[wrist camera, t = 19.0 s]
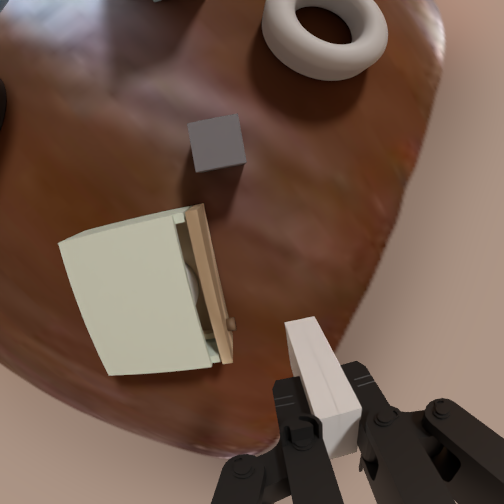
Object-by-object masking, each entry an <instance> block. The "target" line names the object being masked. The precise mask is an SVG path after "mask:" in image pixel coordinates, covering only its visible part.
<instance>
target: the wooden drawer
mask: <svg viewBox="0 0 504 504" xmlns="http://www.w3.org/2000/svg"><path fill="white" fill-rule="evenodd" d="M185 216H186V221H185V222H183V223H178V224H175V225H176V229H177V233H178V238H179V242H180V246H181V251H182V255H183V259H184V262H186V263H187V264H188V265H189V266H190V267H191V268H192V269H193V271H194V272H195V274H196V276H197V278H198V281H199V296H198V300H197V303H196V309H197V313H198V317H199V320H200V324H201V327H202V331H203V334H204V337H205V340H206V339H213V338H215V339H216V342H217V346H218V350H219V353H220V357H221V360H222V363H223V364H227V363H233V334H232V331H234V330H236V322H235V318H234V317H232V318H228V313H227V309H226V305H225V300H224V296H223V292H222V287H221V283H220V278H219V274H218V269H217V265H216V260H215V256H214V251H213V246H212V242H211V237H210V232H209V227H208V222H207V217H206V213H205V208H204V203H202V204H197V205H193V206H192V207H191V208H190V209H188V210H187V211H186V212H185Z"/></svg>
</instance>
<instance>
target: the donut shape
mask: <svg viewBox="0 0 504 504" xmlns="http://www.w3.org/2000/svg"><path fill="white" fill-rule="evenodd" d="M309 6H314V7H321V8H324V9H327V10H330V11H332V12H333V13H335V14H337V15H338V16H339V17H341V18H342V19H343V20H344V21H345V23H346V24H347V25H348V27H349V29H350V31H351V35H352V43H350V44H343V45H341V44H332V43H329V42H326V41H323V40H321V39H319V38H317V37H315V36H313V35H312V34H310V33H309V32H308V31H307V30H305V29H304V28H303V26H302V25H301V24H300V23H299V21H298V19H297V17H296V14H295V11H296V10H298V9H300V8H303V7H309ZM262 32H263V36H264V39H265V41H266V43H267V45H268V47H269V48H270V50H271V51H272V52H273V54H274V55H275V56H276V57H277V58H278V59H279V60H280V61H281V62H282V63H284V64H285V65H286V66H288V67H289V68H291V69H292V70H294V71H296V72H298V73H300V74H302V75H305V76H307V77H310V78H314V79H319V80H326V81H338V80H344V79H348V78H351V77H354V76H356V75H358V74H359V73H361V72H362V71H364V70H365V69H367V68H368V67H369V66H371V65H372V64H374V63H375V62H376V61H377V60H378V59H379V58H380V57H381V56H382V54H383V52H384V50H385V48H386V45H387V41H388V30H387V24H386V21H385V18H384V16H383V14H382V12H381V10H380V9H379V7H378V6H377V4H376V3H375V2H374V1H373V0H266V3H265V7H264V12H263V17H262Z"/></svg>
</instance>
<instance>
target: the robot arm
mask: <svg viewBox="0 0 504 504" xmlns="http://www.w3.org/2000/svg"><path fill="white" fill-rule="evenodd" d="M8 1H9V0H0V12H1V11H2V10H3V8H4V7H5V5H6V4H7V2H8ZM5 109H6V90H5V86H4V83H3V82H2V80H1V79H0V129H1V126H2V123H3V119H4V115H5ZM285 328H286V335H287V342H288V349H289V356H290V364H291V368H292V371H293V375H294V377H291V378H286V379H281V380H276V382H275V384H274V387H273V389H272V390H273V396H274V401H275V407H276V412H277V418H278V424H279V429H280V440H279V442H278V444H277V446H276V447H274V448H273V449H272V450H271V451H269V452H267V453H265V454H263V455H260V456H258V457H256V456H253V455H249V454H243V455H237V456H235V457H232V458H231V459H229V460H228V461H227V462H226V463H225V465H224V467H223V468H222V471H221V475H220V478H219V481H218V484H217V487H216V490H215V493H214V496H213V499H212V502H211V504H274V502H277V501H279V500H281V499H283V498H285V497H288V496H290V495H292V500H293V504H344V503H343V499H342V496H341V493H340V490H339V487H338V484H337V480H336V477H335V475H334V471H333V468H332V465H331V462H330V459H333V458H337V457H341V456H344V455H348V454H351V453H354V452H357V446H358V447H359V449H360V451H361V458H360V464H359V472H361V471H362V469H363V468H364V471H365V474H366V476H367V479H368V481H369V484H370V486H371V489H372V492H373V494H374V497H375V499H376V502H377V504H456V503H455V501H456V502H457V503H458V504H504V438H502V437H501V436H499V435H498V434H497V433H495V432H494V431H493V430H491V429H490V428H488V427H487V426H486V425H485V424H483V423H482V422H481V421H479V420H477V419H476V418H475V417H474V416H472V415H471V414H470V413H468V412H467V411H466V410H464V409H463V408H461V407H460V406H459V405H458V404H456V403H455V402H453V401H451V400H449V399H444V398H441V399H435V400H433V401H431V402H430V403H429V404H428V405H427V406H426V409H425V410H422V411H415V412H401V411H400V410H399V409H398V408H395V407H393V406H390V404H389V403H388V402H387V400H386V398H385V397H384V395H383V394H382V392H381V390H380V389H379V387H378V385H377V384H376V382H374V379H373V377H372V376H371V375H370V373H369V371H368V369H367V368H366V366H364V365H363V364H361V363H359V362H358V361H354V362H351V363H347V364H343V365H340V364H339V362H338V360H337V359H336V356H335V355H334V353H333V351H332V349H331V347H330V345H329V343H328V341H327V339H326V337H325V336H324V334H323V332H322V330H321V328H320V326H319V324H318V322H317V321H316V319H315V317H314V316H313V317H309V318H304V319H299V320H295V321H290V322H285ZM454 500H455V501H454Z"/></svg>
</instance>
